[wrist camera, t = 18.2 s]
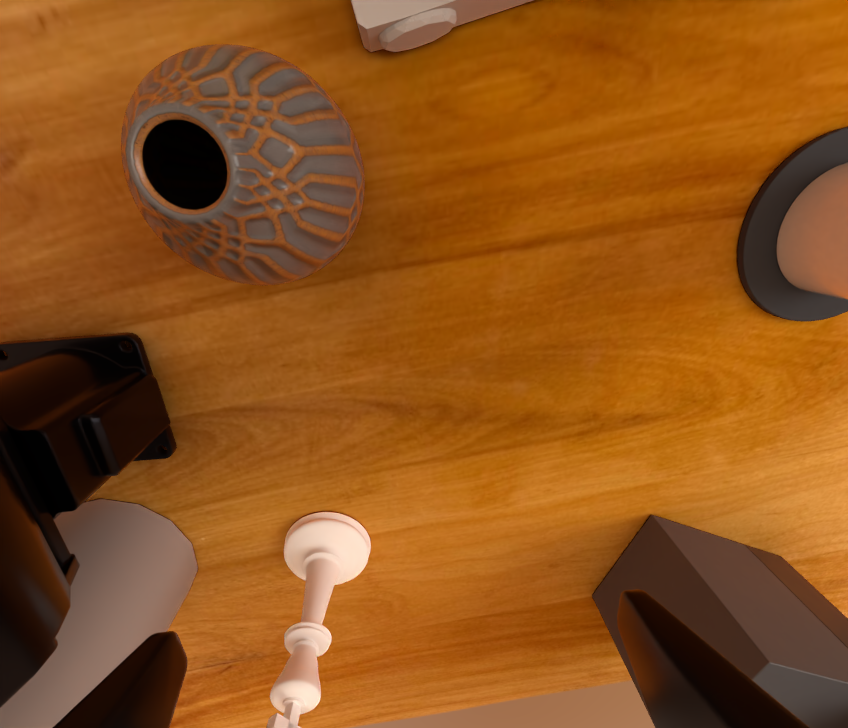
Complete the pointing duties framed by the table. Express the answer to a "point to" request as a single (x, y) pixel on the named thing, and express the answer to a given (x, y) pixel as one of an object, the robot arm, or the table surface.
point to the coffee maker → (740, 614)
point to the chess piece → (314, 604)
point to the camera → (417, 20)
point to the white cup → (817, 236)
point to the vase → (242, 164)
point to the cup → (106, 603)
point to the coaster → (765, 224)
